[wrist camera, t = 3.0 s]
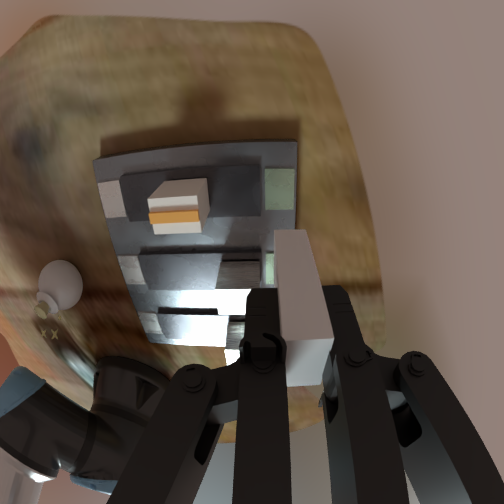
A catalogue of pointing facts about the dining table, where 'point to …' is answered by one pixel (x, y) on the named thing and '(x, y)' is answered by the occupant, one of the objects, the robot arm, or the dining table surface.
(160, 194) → the knob
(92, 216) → the dining table surface
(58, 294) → the ornament
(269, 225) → the panel
